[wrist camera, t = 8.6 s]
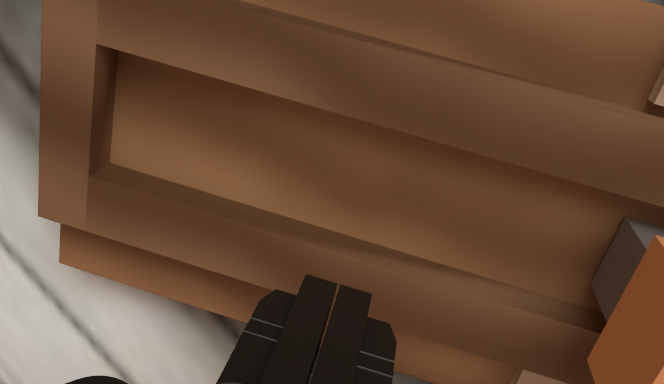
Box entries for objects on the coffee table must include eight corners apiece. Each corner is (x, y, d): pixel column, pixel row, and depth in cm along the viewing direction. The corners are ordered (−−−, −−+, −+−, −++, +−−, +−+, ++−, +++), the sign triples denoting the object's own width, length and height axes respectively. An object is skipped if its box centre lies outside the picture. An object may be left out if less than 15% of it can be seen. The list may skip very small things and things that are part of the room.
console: (108, -139, 20) (44, -156, 17) (925, 74, 18) (1025, 100, 15) (85, 241, 27) (36, 280, 24) (681, 431, 25) (715, 501, 22)
